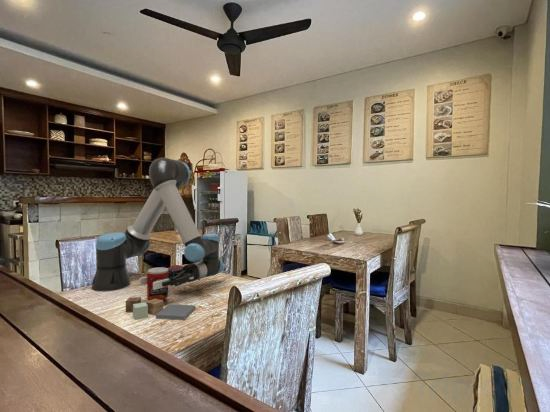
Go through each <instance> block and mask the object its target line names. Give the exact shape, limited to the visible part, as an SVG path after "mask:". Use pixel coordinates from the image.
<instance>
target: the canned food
mask: <svg viewBox="0 0 550 412" xmlns="http://www.w3.org/2000/svg"><path fill="white" fill-rule="evenodd" d="M168 268H169V267H168ZM168 268H167V267H163V266H162V267H161V266H160V267H152V268H149V269H147V275H146V277H147V284H146V298H147V300H148V301H150V300H153V299H159V300H163V301H164V300H167V298H168V297H169V286H167V287H163V288H160V289H156V290H153V282H156V281H160V280H164V279H168Z"/></svg>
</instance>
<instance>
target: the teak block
mask: <svg viewBox="0 0 550 412" xmlns="http://www.w3.org/2000/svg"><path fill="white" fill-rule="evenodd" d="M145 302H146V304H147V305H148V315H152V316H156V314H157V313H159V312H160V311H161V310H162V309H164V300H159V299H153V300H148V301H145Z"/></svg>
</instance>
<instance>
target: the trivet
mask: <svg viewBox="0 0 550 412" xmlns="http://www.w3.org/2000/svg"><path fill="white" fill-rule="evenodd" d="M195 310H196V305H193V304H176V303H174V304H173V303H169V304H168V305H166V306H165V307H163V309H162V310H161V311H160V312H159V313H157V314H156V315H155V319H162V320H182V321H185V320H186V319H187V318H188V317H189V316H190V315H191V314H192V313H193V312H194V311H195Z"/></svg>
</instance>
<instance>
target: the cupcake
mask: <svg viewBox="0 0 550 412" xmlns="http://www.w3.org/2000/svg"><path fill="white" fill-rule="evenodd" d="M173 263H174V264H173V265H170V266H169V267H168V270H172V269H174V271H176V270H180V269H181V270H182V268H183V267H184V265H183V266H182V265H180V264H177V263H176V257H175V256H174V257H173ZM173 277H174V275H173Z"/></svg>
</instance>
